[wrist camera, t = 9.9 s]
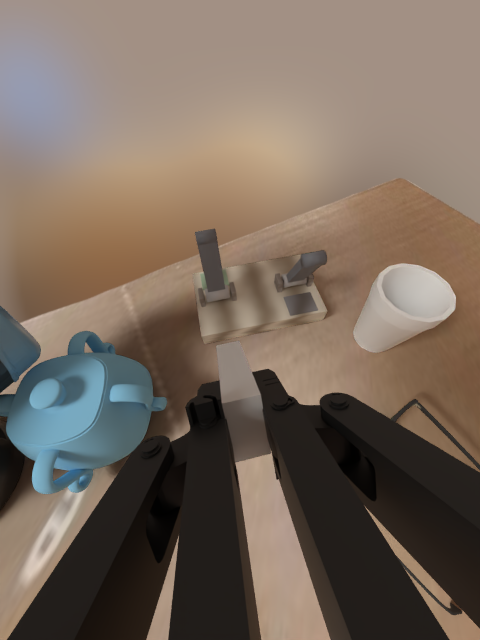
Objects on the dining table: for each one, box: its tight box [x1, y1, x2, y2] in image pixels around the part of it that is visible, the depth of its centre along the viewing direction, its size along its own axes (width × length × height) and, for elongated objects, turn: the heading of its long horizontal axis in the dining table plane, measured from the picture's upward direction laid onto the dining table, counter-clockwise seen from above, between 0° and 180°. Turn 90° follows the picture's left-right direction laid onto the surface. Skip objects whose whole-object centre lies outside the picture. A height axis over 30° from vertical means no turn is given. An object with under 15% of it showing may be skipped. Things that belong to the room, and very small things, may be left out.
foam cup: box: [353, 263, 456, 353], centre depth 37 cm, size 10×9×13 cm
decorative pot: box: [0, 331, 167, 494], centre depth 32 cm, size 16×16×14 cm
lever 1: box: [195, 229, 230, 302], centre depth 40 cm, size 4×2×12 cm, turn 102°
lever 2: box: [281, 250, 327, 288], centre depth 39 cm, size 4×2×12 cm, turn 102°
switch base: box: [192, 254, 327, 344], centre depth 45 cm, size 22×14×5 cm, turn 102°
